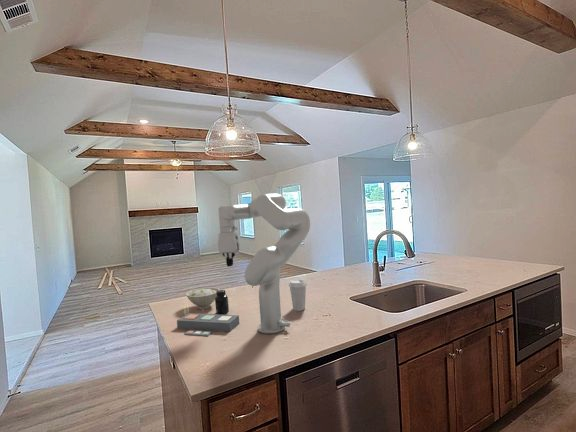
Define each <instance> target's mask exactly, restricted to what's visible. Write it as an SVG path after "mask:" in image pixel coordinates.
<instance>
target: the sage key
mask: <svg viewBox="0 0 576 432" xmlns="http://www.w3.org/2000/svg"><path fill="white" fill-rule="evenodd" d="M214 317H215V316H214V315H205V316H204V317H203V318H201V319H200V320H212V319H213V318H214Z"/></svg>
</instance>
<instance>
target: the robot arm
mask: <svg viewBox="0 0 576 432" xmlns="http://www.w3.org/2000/svg"><path fill="white" fill-rule="evenodd" d="M286 204H287V202H286V199H285V197H284V196H283V195H282V194H279V193H262V194H260V195H258V196H257V197H256V198H253V199H252V200H251V202H250V203H239V204H229V205H220V206H219V207H218V220H219V221H218V222H219V233H218V240H217V243H218V244H217V249H218V254H219V255H221V256H223V257H224V259H225V260H226V261H225V263H226V267H228V268H229V267H233V266H234V257H235V256H236V255H239V254H240V250H241V248H240V240H239V235H238V232H237V231H238V227H237V226H236V225H235V223H236V222H235V221H238V220H248V219H252V218H259V217H262V218H263V219H264V221H266V222H267V223H268V224H270V226H271V227H273V228H274V229H276V230H278V231H286V232H284V233H283V234H282V235H281V236H280V238H279V240H277V241H276V243H275V244H273V245H270V246H266V247H262V248H260V249H259V250H258V251H257V252H256V253H255V255H254V256H253V257H252V259H251V260H250V261H249V263H248V265H247V266H246V267H245V268H246V269H244V270H245V271H244V280H245V282H246V283H247V285H249V286H252V287H258V286H259V289H258V303H259V315H260V324H258V326H257V331H258V332H259V334H260V333H261V334H264V335H265V334H266V335H272V334H278V333H280V332H283V331H284V330H285V328H287V327H288V328H290V327H291V322H290V321H289V320H285V319H284V317H283V316H282V312H281V311H282V309H281V294H280V293H281V292H280V289H281V288H280V280H281V267H282V266H284V265H286V264H287V263H288V261H289V260H290V259H291V257H292V256H293V255H294V254H295V252H296V251H297V249H298V248H299V247H300V245H301V244H302V243H303V242H304V240H305V239H306V238H307V236H308V234H309V232H310V229H311V219H310V217H309V214H308V212H307V211H306V210H305V209H302V208H299V207H298V208H297V207H296V208H295V207H294V208H293V207H292V208H285V207H286Z"/></svg>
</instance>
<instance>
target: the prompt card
mask: <svg viewBox="0 0 576 432" xmlns="http://www.w3.org/2000/svg"><path fill="white" fill-rule="evenodd" d="M212 333H213V331H209V330H193V329H188V330H187V331H186V332H185V333H184V335H185V336H197V335H199V337H202V336H203V337H209V336H210V335H212Z"/></svg>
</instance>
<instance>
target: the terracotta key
mask: <svg viewBox="0 0 576 432" xmlns="http://www.w3.org/2000/svg"><path fill="white" fill-rule="evenodd" d="M198 316H199V315H193V314H190V315H188V316H187V317H185V318H184V319H192V320H194V319H195V318H197V317H198Z"/></svg>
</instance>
